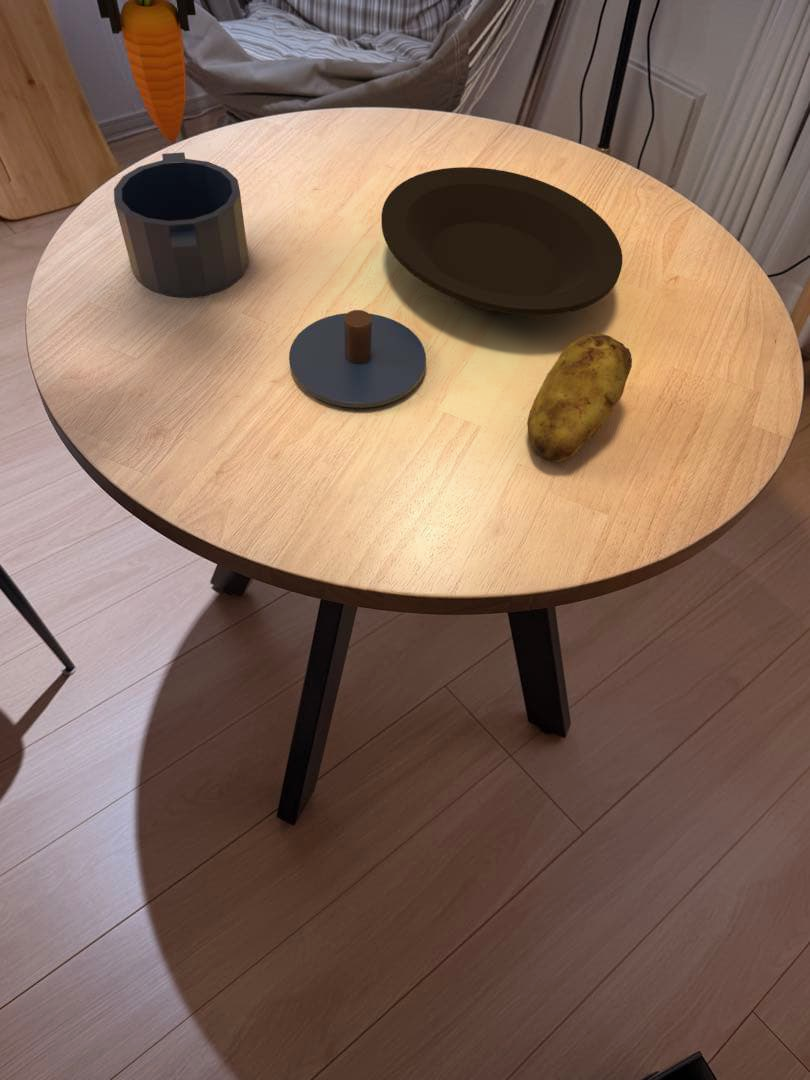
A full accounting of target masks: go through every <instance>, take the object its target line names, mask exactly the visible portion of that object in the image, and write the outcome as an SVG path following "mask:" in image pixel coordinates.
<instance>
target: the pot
mask: <svg viewBox="0 0 810 1080" xmlns="http://www.w3.org/2000/svg"><path fill="white" fill-rule="evenodd" d="M161 156H162V160H157V161H154V162H150V163H147V164H144V165H140V166H138V167H137V168H135V169H133V170H131V171H129V172H128V173H126V174H124V175H123V176H122V177H121V178H120V179H119V180H118V182H117V183H116V185H115V187H114V188H113V202H114V206H115V210H116V212H117V218H118V222H119V225H120V230H121V233H122V237H123V242H124V245H125V248H126V252H127V256H128V260H129V263H130V268H131V270H132V272H133V274H134V277H135V278H136V280H137V281H138V282H139V283H140V284H141V285H142V286H143V287H145V288H146V289H149V290H150V291H152V292H155V293H157V294H161V295H163V296H168V297H174V298H175V297H176V298H197V297H203V296H204V297H205V296H208V295H213V294H215V293H219V292H221V291H223V290H225V289H227V288H230V287H231V286H233V285H235V284H236V283H237V282H238V281H239V280H240V279H241V278H242V277H243V275H244V274H245V272H246V271H247V269H248V265H249V253H248V245H247V244H248V243H247V236H246V229H245V222H244V220H245V219H244V212H243V204H242V203H243V202H242V196H241V195H242V194H241V189H240V185H239V180H238V179H237V178H236V176H234V175H233V174H232V173H231V172H230V171H229V170H228V169H227V168H225V167H222V166H220V165H218V164H215V163H213V162H210V161H207V160H206V161H205V160H198V159H191V158H186V154H185V152H170V153H168V152H167V153H162V154H161Z"/></svg>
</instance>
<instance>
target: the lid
mask: <svg viewBox="0 0 810 1080" xmlns="http://www.w3.org/2000/svg"><path fill="white" fill-rule="evenodd" d="M426 355H427V354H426V351H425V347H424V345H423V343H422V341H421V340H420V339H419V337H418V336H417V335H416V334H415V333H414V331H412V330H411V329H410V328H408V327H407V326H406V325H404V324H402V323H401V322H399V321H396V320H395V319H392V318H389V317H387V316H383V315H379V314H374V313H369V312H368V311H366V310H361V309H353V310H350V311H348V312H344V313H338V314H332V315H329V316H326V317H322V318H320V319H318V320H316V321H314V322H312V323H310V324H309V325H307V326H306V327H305V328H303V329H302V330H301V331H300V332H299V333H298V334H297V335H296V336H295V338H294V340H293V341H292V343H291V345H290V348H289V353H288V361H289V368H290V369H289V370H290V371H291V374H292V376H293V378H294V380H295V381H296V382H297V384H298V385H299V386H300V387H301V388H302V389H303V390H304V391H305V392H307V393H308V394H309V395H311V396H313V397H315V398H316V399H318V400H320V401H323V402H325V403H328V404H332V405H335V406H340V407H344V408H345V407H346V408H358V409H359V408H372V407H380V406H383V405H386V404H389V403H392V402H395V401H398V400H399V399H401V398H403V397H405V396H406V395H408V394H409V393H411V392H412V391H413V390H414V389H415V388H416V387H417V386H418V384H419V383H420V382H421V380H422V378H423V377H424V374H425V372H426V364H427V356H426Z"/></svg>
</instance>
